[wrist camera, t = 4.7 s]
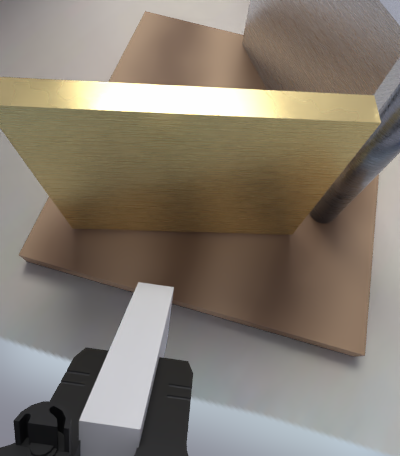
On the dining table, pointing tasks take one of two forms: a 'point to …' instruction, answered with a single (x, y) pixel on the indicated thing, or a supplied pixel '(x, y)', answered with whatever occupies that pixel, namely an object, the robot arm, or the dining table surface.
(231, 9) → the dining table surface
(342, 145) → the panel
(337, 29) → the steel leaf and pin
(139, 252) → the walnut board
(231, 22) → the dining table surface
